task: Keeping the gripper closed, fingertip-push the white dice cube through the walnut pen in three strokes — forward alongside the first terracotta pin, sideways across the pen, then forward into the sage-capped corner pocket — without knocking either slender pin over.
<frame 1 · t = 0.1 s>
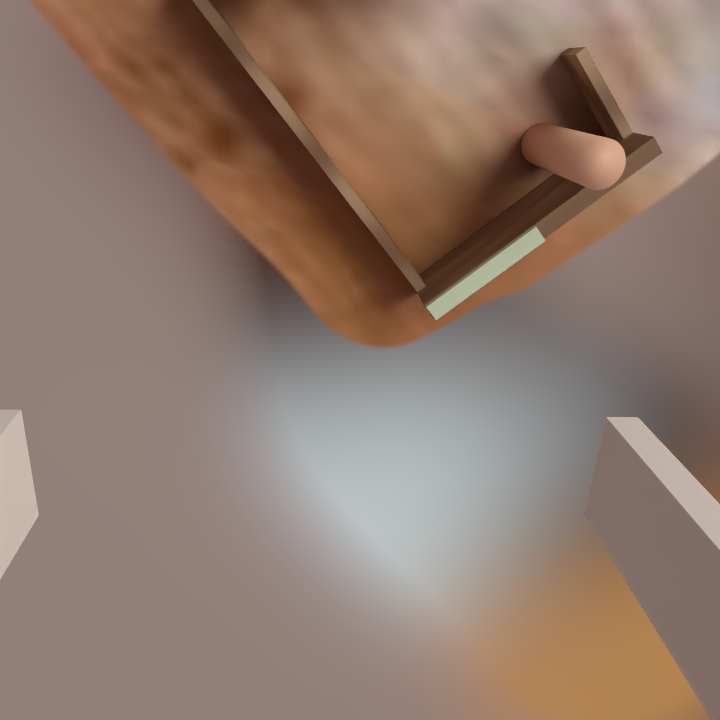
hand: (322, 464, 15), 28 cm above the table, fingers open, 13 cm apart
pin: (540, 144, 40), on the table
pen: (416, 67, 38), on the table
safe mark: (440, 200, 41), resting on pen
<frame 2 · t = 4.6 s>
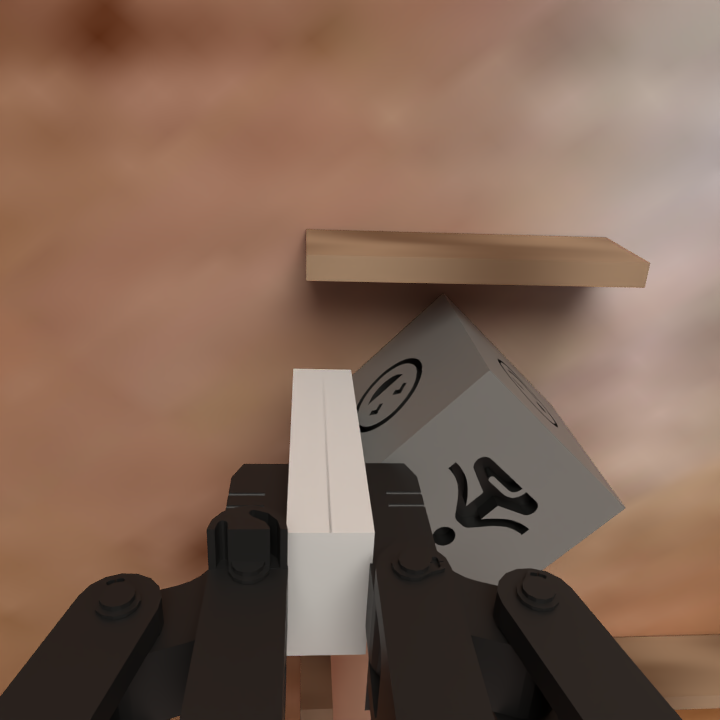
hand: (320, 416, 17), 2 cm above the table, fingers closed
dice cube: (433, 404, 20), on the table, touching gripper
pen: (652, 474, 21), on the table
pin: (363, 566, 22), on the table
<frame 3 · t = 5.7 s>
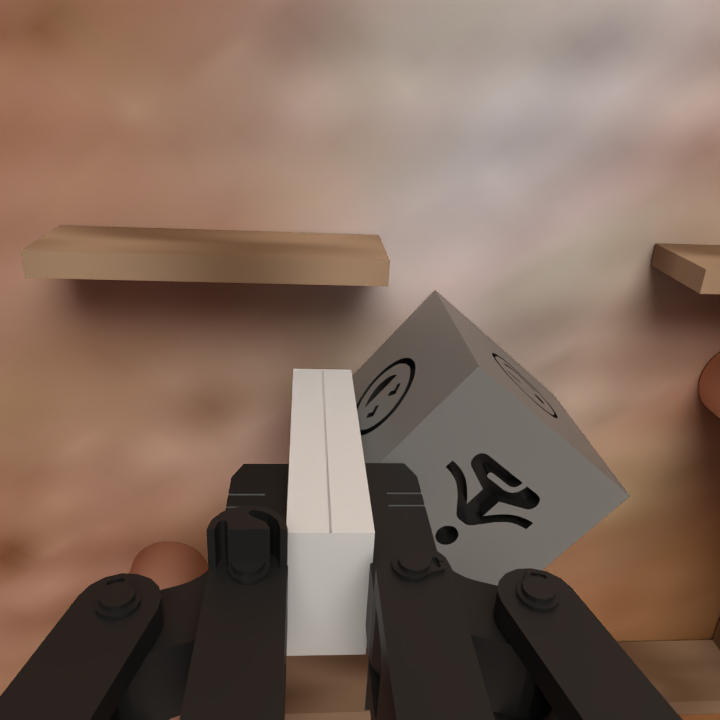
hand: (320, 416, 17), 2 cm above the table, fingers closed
dice cube: (434, 402, 20), on the table, touching gripper
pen: (461, 479, 21), on the table
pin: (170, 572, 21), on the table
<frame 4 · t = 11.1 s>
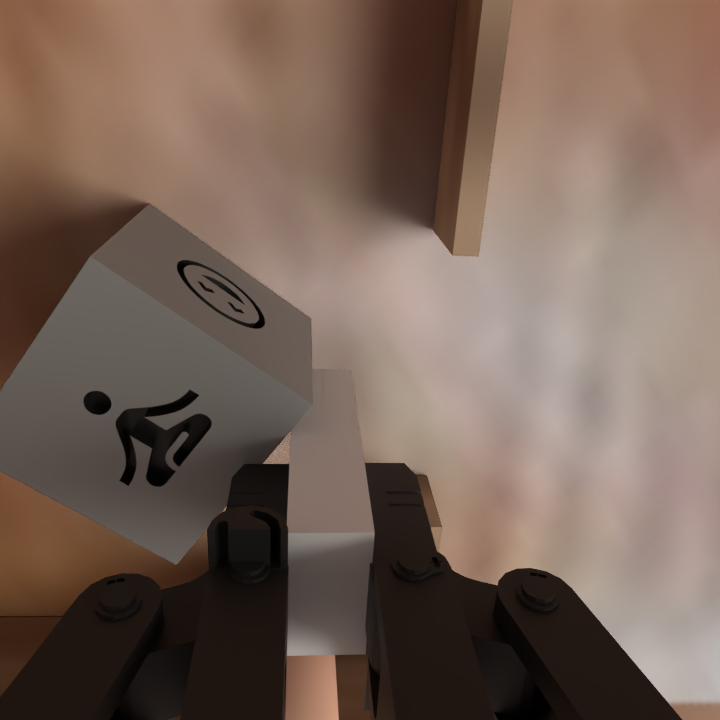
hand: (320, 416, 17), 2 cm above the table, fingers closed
dice cube: (181, 332, 18), on the table, touching gripper
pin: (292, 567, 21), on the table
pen: (167, 330, 18), on the table
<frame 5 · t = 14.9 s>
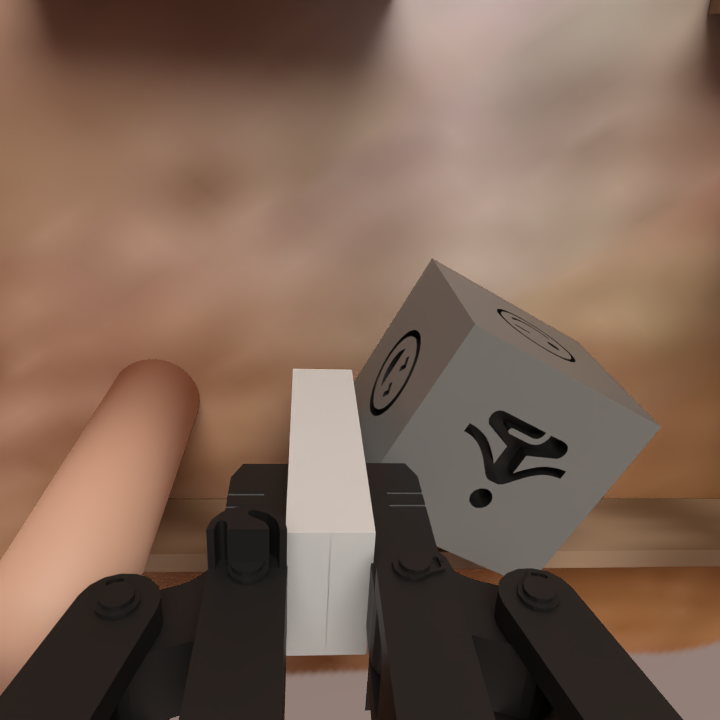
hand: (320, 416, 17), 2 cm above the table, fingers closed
dice cube: (455, 369, 20), on the table
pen: (485, 287, 18), on the table
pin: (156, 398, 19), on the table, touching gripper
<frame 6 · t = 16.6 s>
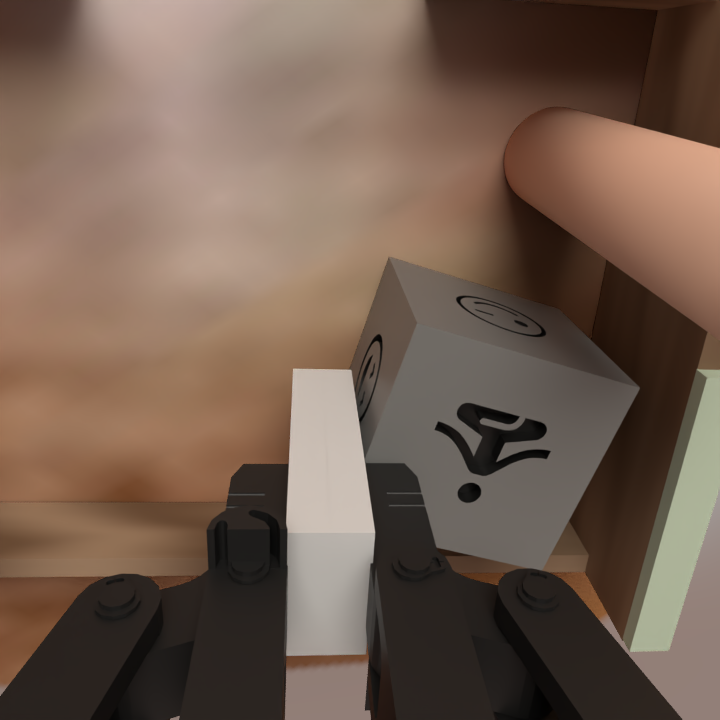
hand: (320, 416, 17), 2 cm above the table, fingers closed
dice cube: (441, 361, 19), on the table, touching gripper
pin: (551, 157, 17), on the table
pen: (231, 282, 18), on the table
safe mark: (478, 395, 19), resting on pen
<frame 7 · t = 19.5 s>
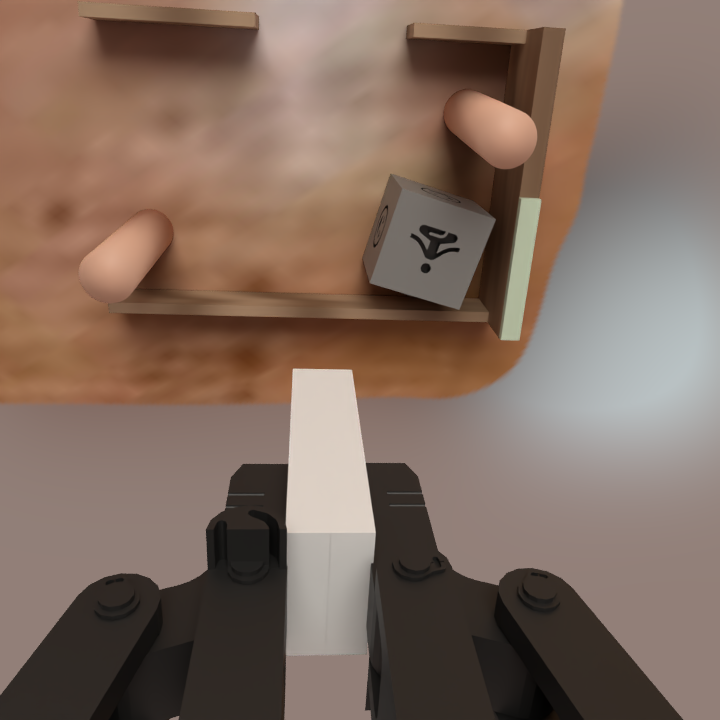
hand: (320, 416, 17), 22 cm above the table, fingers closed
dice cube: (416, 228, 39), on the table
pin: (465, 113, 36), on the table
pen: (314, 173, 37), on the table
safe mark: (435, 235, 39), resting on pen
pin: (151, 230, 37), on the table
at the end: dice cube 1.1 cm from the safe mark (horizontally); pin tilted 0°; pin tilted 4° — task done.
